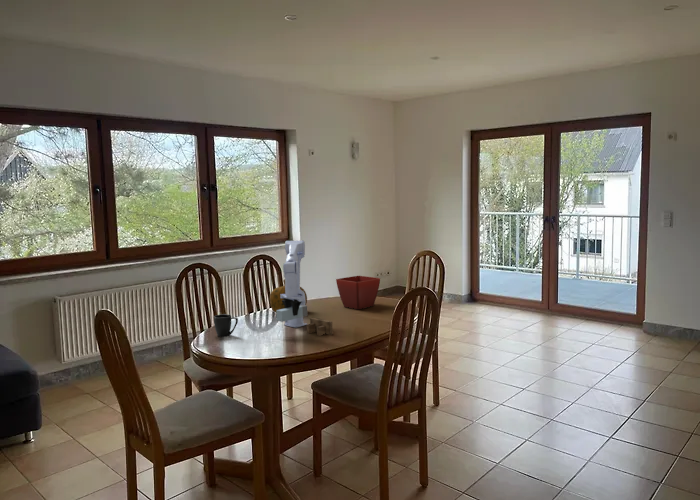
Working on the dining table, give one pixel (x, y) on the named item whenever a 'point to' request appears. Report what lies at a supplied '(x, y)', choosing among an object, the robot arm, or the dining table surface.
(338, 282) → the plant pot
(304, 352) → the dining table surface
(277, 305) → the decorative pumpkin
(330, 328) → the plank with two pegs
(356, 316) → the dining table surface
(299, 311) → the rail
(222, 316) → the mug
